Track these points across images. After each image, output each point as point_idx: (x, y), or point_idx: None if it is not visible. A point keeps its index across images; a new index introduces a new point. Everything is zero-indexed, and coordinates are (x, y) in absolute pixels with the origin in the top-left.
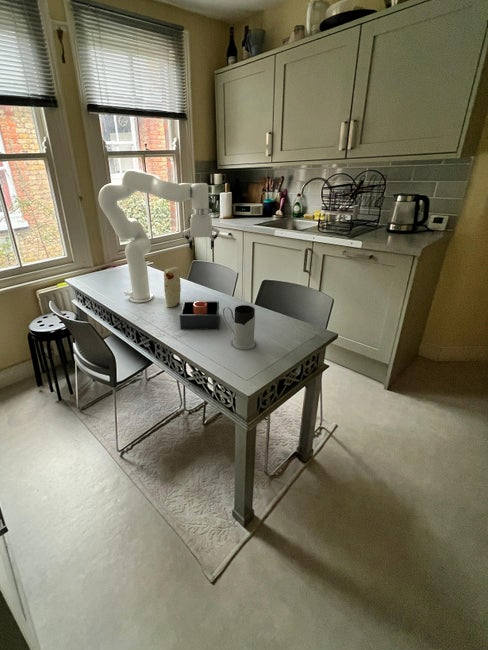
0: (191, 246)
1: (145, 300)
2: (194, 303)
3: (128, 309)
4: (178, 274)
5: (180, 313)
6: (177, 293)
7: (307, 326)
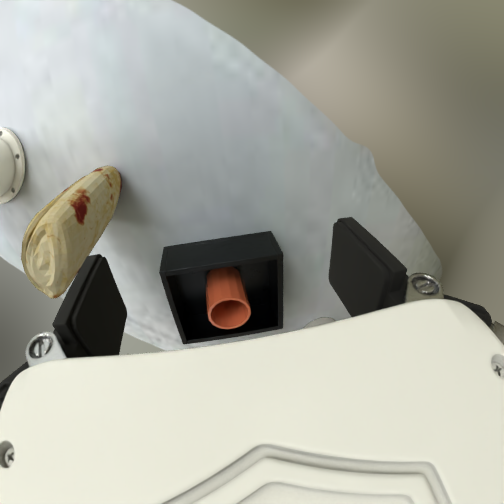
0: (118, 340)
1: (17, 191)
2: (210, 313)
3: (11, 245)
4: (85, 237)
5: (181, 337)
6: (111, 217)
7: (432, 254)
